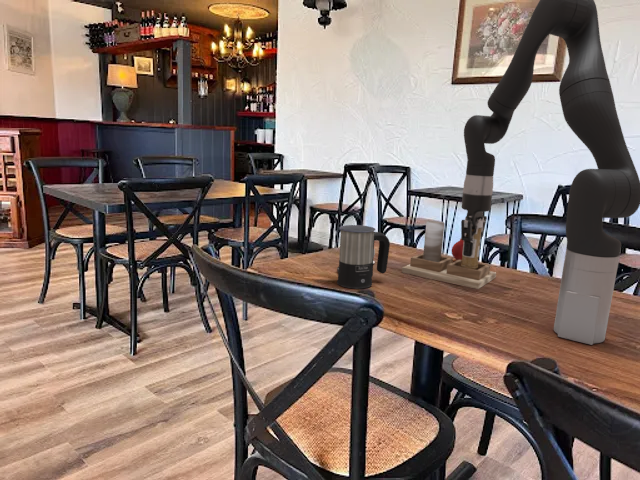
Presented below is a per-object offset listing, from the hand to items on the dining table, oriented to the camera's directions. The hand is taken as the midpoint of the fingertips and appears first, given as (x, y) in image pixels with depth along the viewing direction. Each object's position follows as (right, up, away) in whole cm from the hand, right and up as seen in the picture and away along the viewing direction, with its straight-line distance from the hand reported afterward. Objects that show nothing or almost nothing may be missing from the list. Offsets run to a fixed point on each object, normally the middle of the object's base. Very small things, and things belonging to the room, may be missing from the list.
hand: (470, 254), depth 134 cm
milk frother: (-33, -7, -4) cm, 34 cm away
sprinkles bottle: (0, -4, +1) cm, 4 cm away
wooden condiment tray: (-5, -6, +5) cm, 9 cm away
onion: (+3, -4, +20) cm, 20 cm away
